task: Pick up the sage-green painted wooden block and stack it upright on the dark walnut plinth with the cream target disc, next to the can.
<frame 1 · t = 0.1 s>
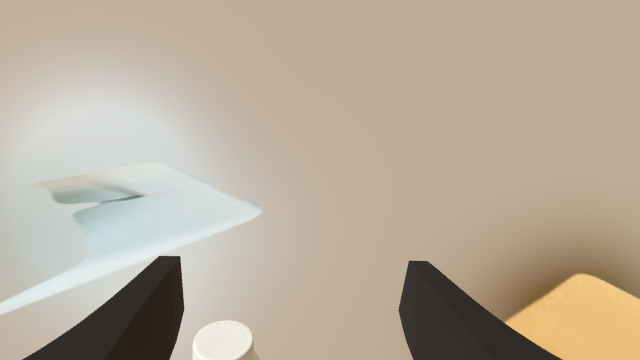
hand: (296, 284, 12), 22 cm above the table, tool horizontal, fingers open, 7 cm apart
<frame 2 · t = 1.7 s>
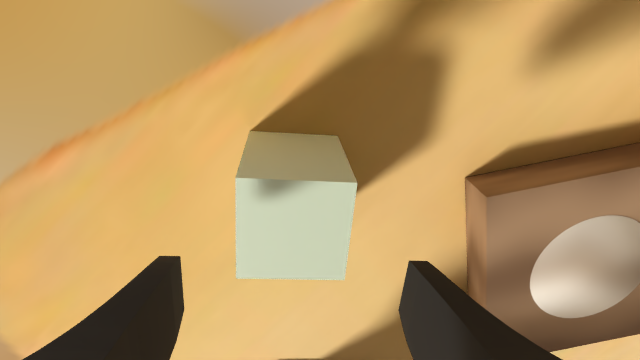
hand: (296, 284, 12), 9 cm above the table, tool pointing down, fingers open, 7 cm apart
plinth: (561, 245, 24), on the table
block: (291, 173, 20), on the table
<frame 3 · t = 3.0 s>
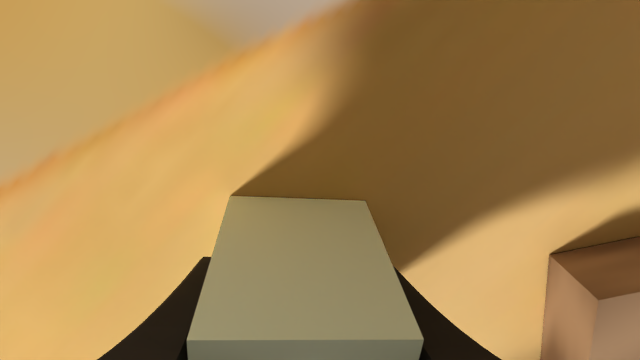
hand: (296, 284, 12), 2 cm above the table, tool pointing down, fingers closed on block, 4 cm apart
block: (295, 254, 14), on the table, touching gripper
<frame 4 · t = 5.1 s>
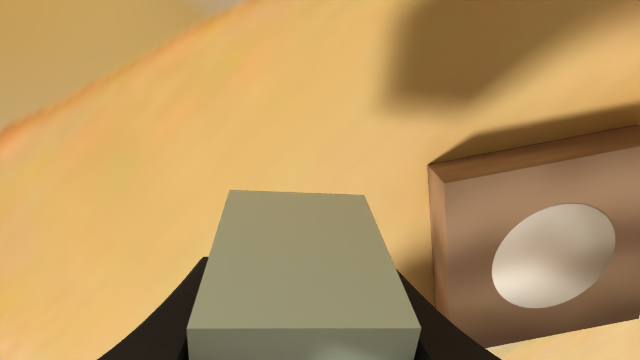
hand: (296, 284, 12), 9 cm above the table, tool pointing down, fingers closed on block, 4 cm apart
plinth: (527, 235, 24), on the table
block: (294, 249, 14), point 8 cm above the table, touching gripper
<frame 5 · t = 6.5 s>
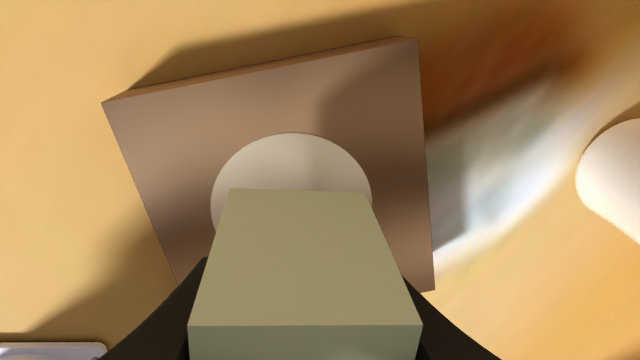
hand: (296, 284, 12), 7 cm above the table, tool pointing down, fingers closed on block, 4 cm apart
plinth: (291, 186, 19), on the table
drinking glass: (615, 163, 20), on the table
block: (295, 247, 14), point 6 cm above the table, touching gripper
when the fingers open (5 cm above the table, at t = 7.5 s): block stays where it is, resting on plinth.
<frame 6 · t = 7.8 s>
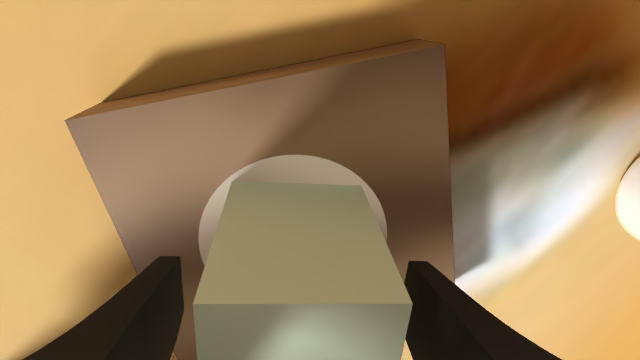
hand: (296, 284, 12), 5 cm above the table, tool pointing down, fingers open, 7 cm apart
plinth: (293, 210, 17), on the table
block: (294, 238, 14), point 3 cm above the table, touching plinth
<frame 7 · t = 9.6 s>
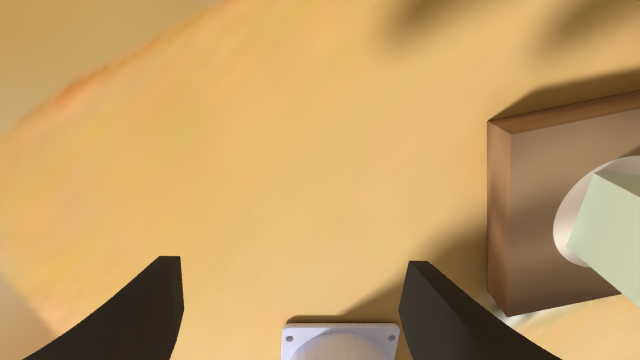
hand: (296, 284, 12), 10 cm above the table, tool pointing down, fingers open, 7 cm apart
plinth: (583, 195, 23), on the table
block: (616, 212, 21), point 3 cm above the table, touching plinth
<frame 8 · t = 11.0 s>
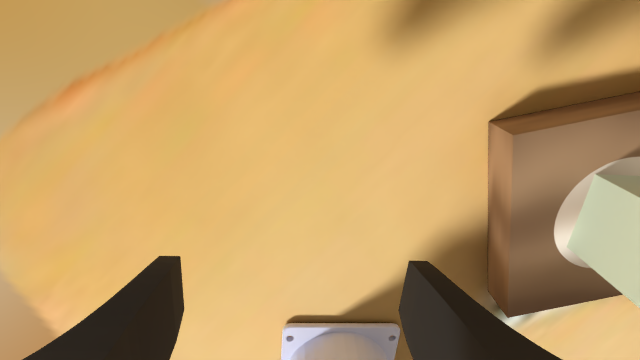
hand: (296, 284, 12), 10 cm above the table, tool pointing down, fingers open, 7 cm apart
plinth: (583, 196, 23), on the table
block: (617, 213, 21), point 3 cm above the table, touching plinth
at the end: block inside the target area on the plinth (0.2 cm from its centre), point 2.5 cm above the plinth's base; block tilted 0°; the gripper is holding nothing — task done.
